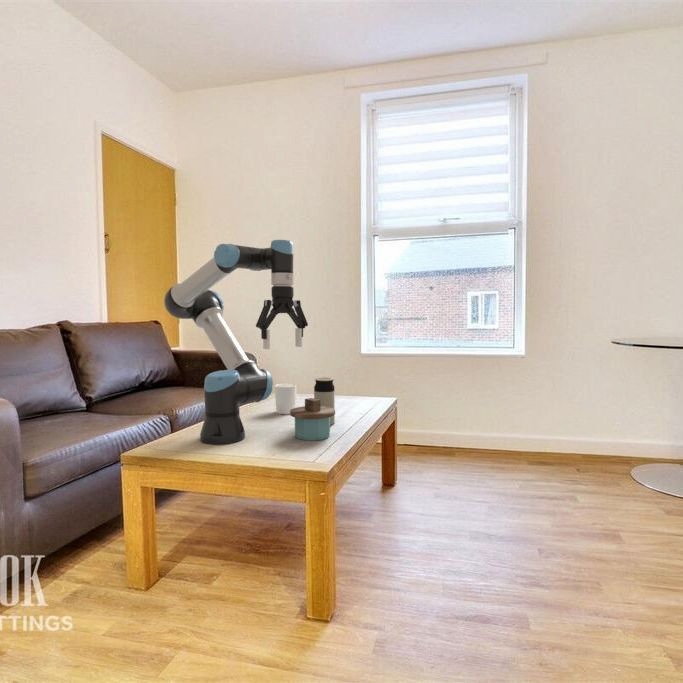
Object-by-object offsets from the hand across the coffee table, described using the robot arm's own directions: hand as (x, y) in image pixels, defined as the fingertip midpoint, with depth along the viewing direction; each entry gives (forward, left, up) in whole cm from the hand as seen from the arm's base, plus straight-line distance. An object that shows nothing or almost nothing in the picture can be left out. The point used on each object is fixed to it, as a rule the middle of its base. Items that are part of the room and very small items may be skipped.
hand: (283, 347), depth 163 cm
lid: (+5, +9, -24) cm, 26 cm away
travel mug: (-6, +24, -32) cm, 40 cm away
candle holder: (-33, +25, -32) cm, 52 cm away
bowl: (+5, +9, -32) cm, 33 cm away
